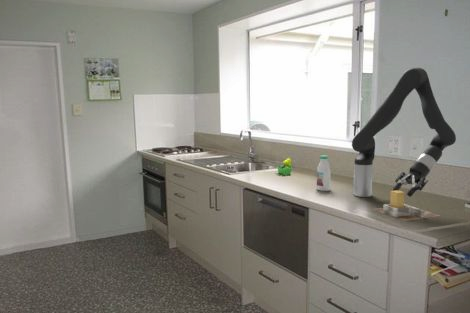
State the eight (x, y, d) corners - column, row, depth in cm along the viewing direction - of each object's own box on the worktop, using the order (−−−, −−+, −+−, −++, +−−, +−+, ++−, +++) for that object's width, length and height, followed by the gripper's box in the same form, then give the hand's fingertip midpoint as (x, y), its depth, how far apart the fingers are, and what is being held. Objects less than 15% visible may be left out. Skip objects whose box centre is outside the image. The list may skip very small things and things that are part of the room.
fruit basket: (276, 173, 282) (276, 157, 281) (287, 172, 285) (287, 156, 283) (282, 175, 271) (282, 159, 270) (294, 174, 274) (294, 158, 272)
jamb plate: (372, 211, 183) (372, 201, 182) (406, 206, 190) (407, 197, 189) (404, 223, 164) (404, 213, 164) (440, 217, 171) (441, 207, 170)
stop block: (389, 212, 177) (390, 191, 175) (397, 211, 178) (397, 190, 176) (396, 215, 173) (397, 193, 171) (403, 214, 174) (404, 192, 173)
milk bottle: (328, 188, 232) (328, 154, 229) (331, 191, 224) (332, 156, 221) (315, 188, 232) (315, 154, 229) (318, 191, 224) (318, 156, 221)
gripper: (406, 158, 182) (385, 184, 180) (431, 163, 169) (408, 191, 167) (415, 169, 185) (394, 194, 183) (439, 174, 171) (417, 202, 169)
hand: (401, 193), depth 175 cm, fingers open, 8 cm apart
